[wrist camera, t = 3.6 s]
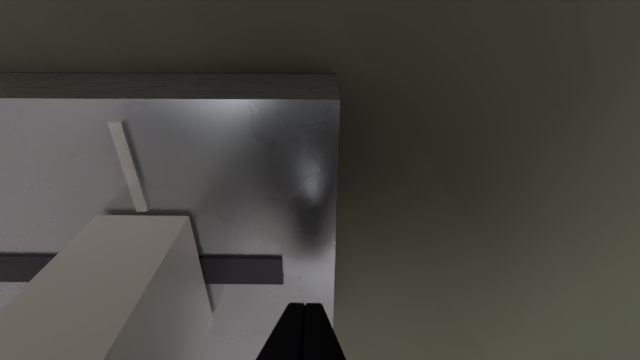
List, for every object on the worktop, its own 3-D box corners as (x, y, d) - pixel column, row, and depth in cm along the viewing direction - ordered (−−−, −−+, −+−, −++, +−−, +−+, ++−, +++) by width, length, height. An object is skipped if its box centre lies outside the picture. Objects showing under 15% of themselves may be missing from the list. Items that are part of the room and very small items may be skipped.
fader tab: (213, 319, 11) (132, 558, 6) (137, 318, 11) (3, 555, 6) (188, 215, 9) (45, 456, 4) (96, 214, 9) (-145, 454, 4)
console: (330, 313, 14) (331, 375, 12) (-86, 309, 15) (-162, 368, 12) (336, 74, 9) (340, 101, 7) (-294, 71, 10) (-485, 97, 7)
